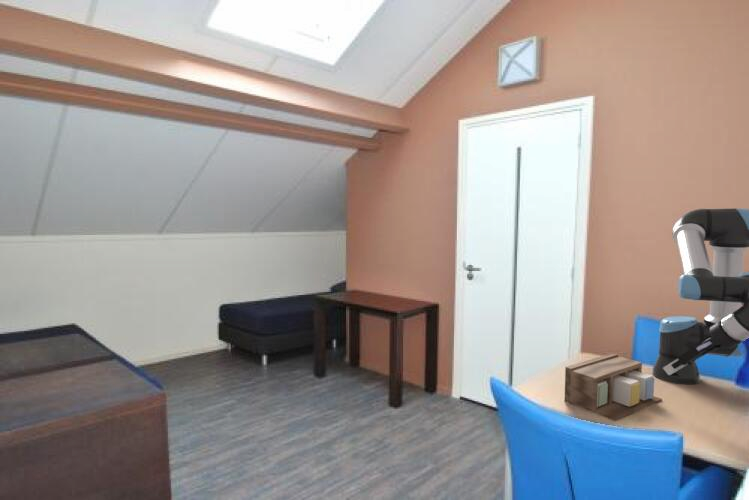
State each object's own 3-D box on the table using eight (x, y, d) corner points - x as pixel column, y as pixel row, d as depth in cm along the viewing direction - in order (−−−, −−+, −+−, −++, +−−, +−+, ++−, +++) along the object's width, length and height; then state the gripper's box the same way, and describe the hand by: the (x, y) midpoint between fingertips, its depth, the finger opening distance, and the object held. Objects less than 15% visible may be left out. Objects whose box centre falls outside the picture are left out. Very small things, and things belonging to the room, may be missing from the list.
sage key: (607, 404, 148) (608, 381, 148) (598, 407, 146) (599, 385, 145) (585, 396, 155) (586, 374, 154) (577, 399, 152) (577, 377, 151)
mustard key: (639, 403, 148) (640, 381, 148) (631, 407, 146) (632, 384, 145) (616, 396, 155) (617, 374, 154) (608, 399, 152) (609, 377, 152)
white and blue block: (653, 397, 153) (654, 376, 153) (646, 401, 151) (647, 379, 150) (631, 390, 160) (631, 369, 159) (623, 393, 157) (624, 372, 156)
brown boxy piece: (661, 400, 153) (663, 366, 152) (615, 420, 138) (616, 383, 138) (611, 384, 168) (612, 353, 167) (564, 401, 153) (565, 367, 152)
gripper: (732, 345, 126) (665, 385, 141) (751, 338, 133) (685, 378, 148) (711, 322, 130) (648, 364, 145) (730, 317, 137) (668, 357, 152)
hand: (666, 371), depth 146 cm, fingers closed
